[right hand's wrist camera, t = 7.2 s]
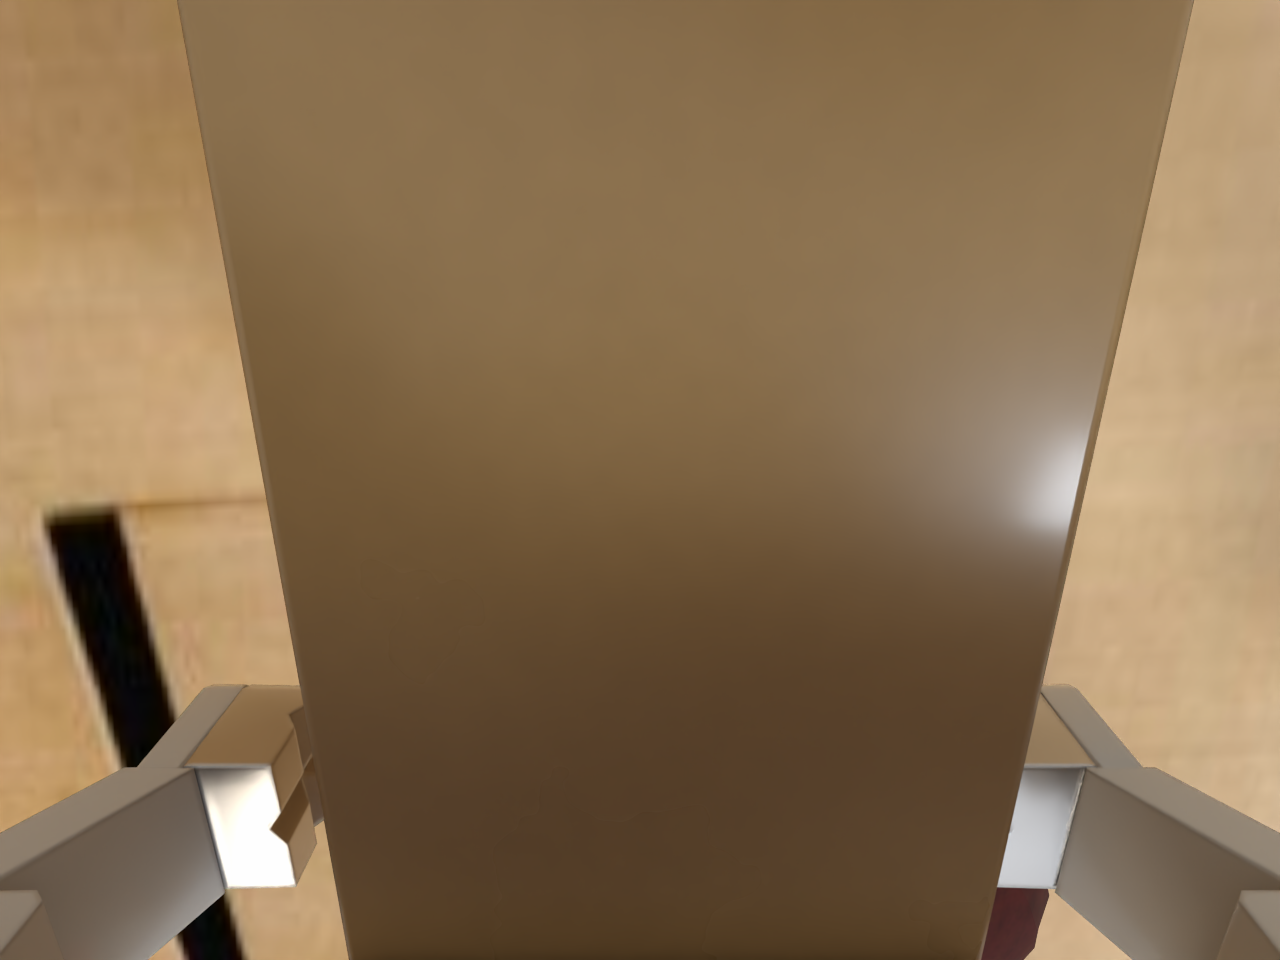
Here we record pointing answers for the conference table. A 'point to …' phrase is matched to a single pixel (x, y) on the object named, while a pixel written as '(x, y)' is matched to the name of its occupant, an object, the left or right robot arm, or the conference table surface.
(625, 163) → the bar
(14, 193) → the conference table surface
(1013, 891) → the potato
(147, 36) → the conference table surface
